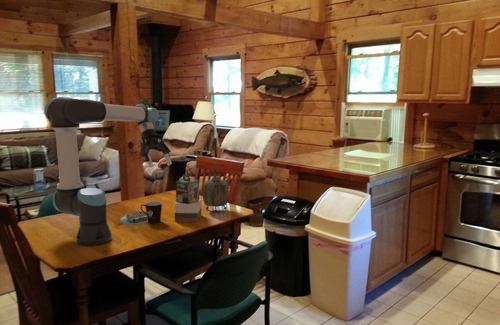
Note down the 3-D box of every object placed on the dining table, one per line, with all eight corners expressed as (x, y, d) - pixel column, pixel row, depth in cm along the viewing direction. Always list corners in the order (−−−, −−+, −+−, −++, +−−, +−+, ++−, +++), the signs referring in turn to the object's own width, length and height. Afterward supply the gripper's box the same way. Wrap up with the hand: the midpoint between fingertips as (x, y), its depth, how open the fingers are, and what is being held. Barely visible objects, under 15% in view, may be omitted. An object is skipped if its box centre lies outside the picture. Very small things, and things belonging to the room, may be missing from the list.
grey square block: (197, 222, 205) (196, 213, 204) (174, 222, 206) (174, 213, 205) (201, 216, 217) (201, 207, 216) (180, 215, 218) (180, 206, 217)
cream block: (197, 213, 205) (197, 204, 204) (175, 212, 205) (175, 203, 205) (201, 207, 217) (201, 198, 216) (180, 206, 217) (179, 198, 216)
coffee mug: (165, 221, 205) (165, 203, 204) (151, 225, 199) (151, 206, 198) (153, 216, 213) (152, 199, 212) (139, 220, 207) (138, 202, 205)
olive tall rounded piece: (228, 208, 230) (228, 167, 226) (228, 213, 221) (227, 170, 217) (204, 208, 230) (203, 167, 226) (202, 213, 221) (202, 170, 217)
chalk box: (199, 200, 211) (199, 174, 209) (188, 204, 203) (187, 176, 201) (187, 198, 216) (186, 172, 214) (175, 201, 208) (174, 174, 206)
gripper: (160, 133, 228) (172, 166, 225) (125, 134, 207) (139, 170, 204) (168, 127, 224) (181, 161, 221) (133, 128, 203) (147, 165, 200)
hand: (161, 165), depth 212 cm, fingers open, 13 cm apart
